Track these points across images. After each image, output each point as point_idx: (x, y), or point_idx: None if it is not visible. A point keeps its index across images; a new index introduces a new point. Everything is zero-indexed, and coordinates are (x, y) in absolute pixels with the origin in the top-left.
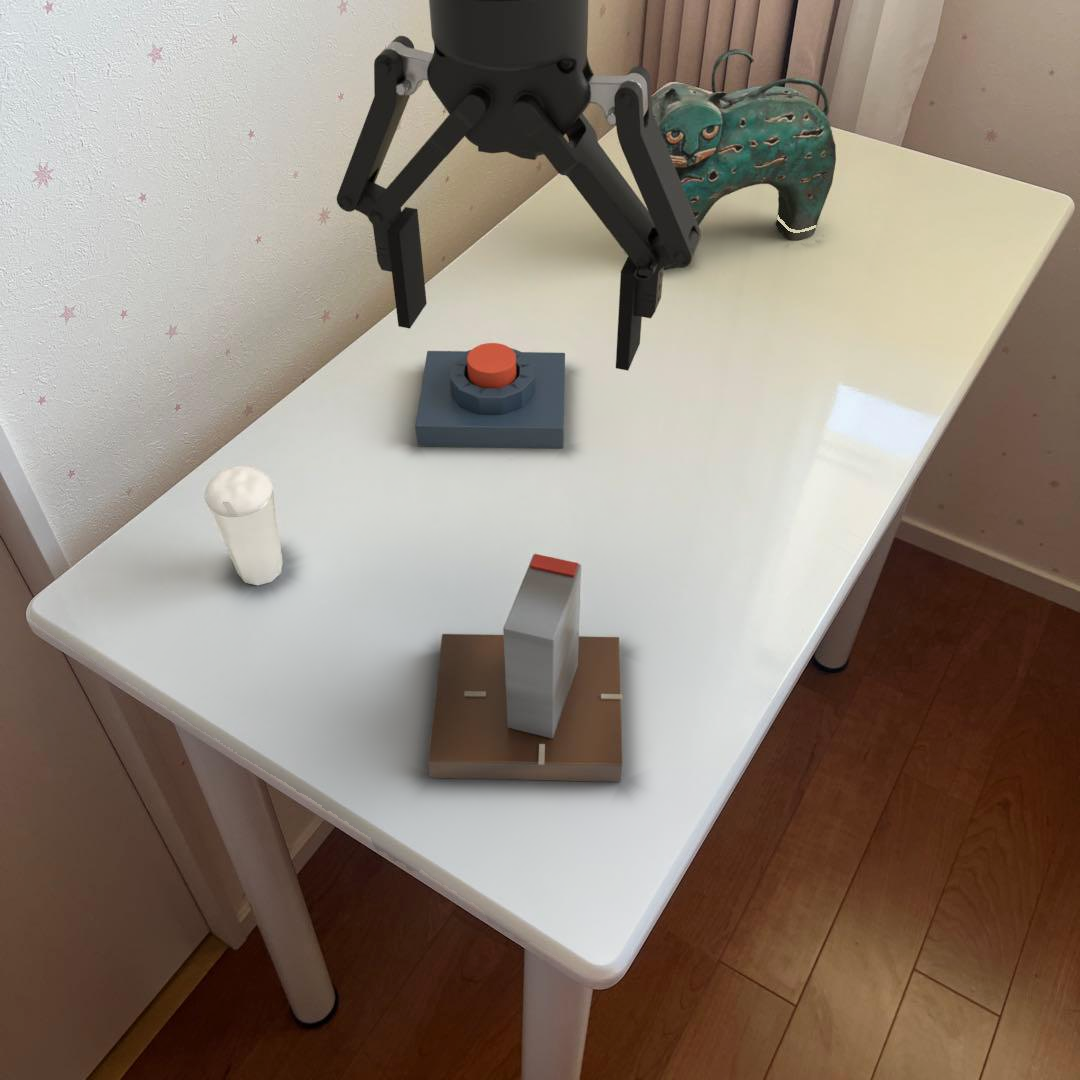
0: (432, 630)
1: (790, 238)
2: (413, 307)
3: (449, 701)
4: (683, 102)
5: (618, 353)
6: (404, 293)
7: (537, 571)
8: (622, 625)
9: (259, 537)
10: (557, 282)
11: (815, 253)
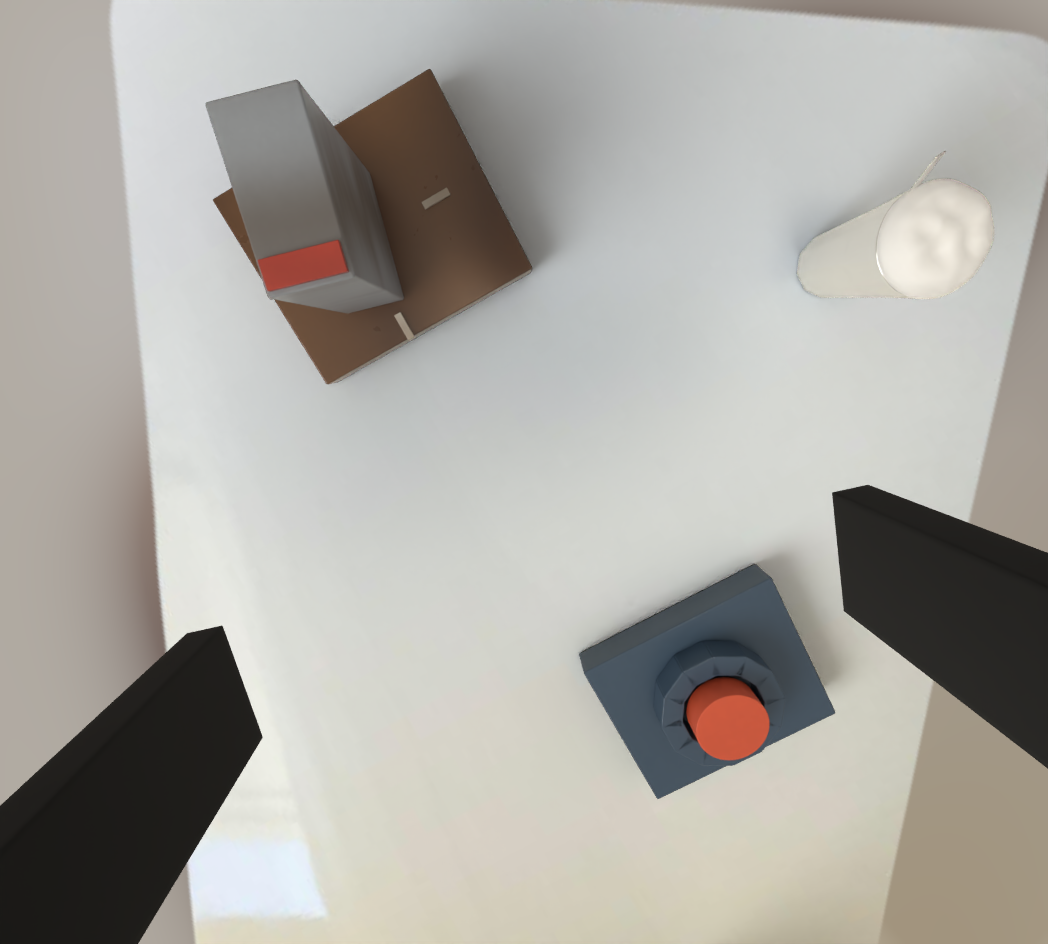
0: (562, 295)
1: None
2: (865, 545)
3: (459, 170)
4: None
5: (189, 654)
6: (922, 529)
7: (323, 240)
8: (357, 427)
9: (850, 232)
10: (745, 916)
11: None
